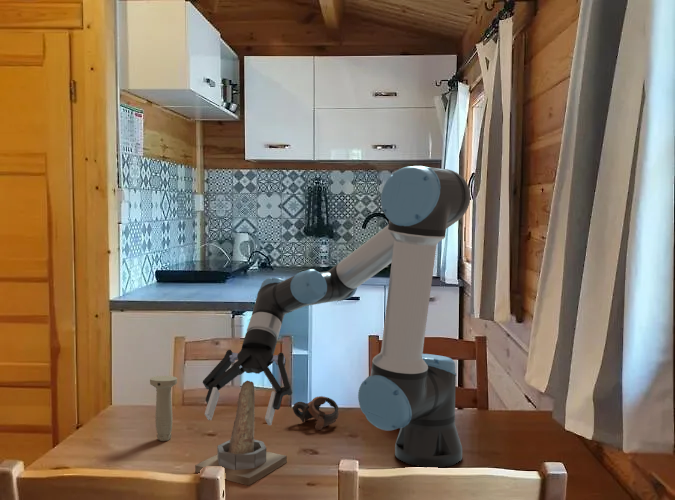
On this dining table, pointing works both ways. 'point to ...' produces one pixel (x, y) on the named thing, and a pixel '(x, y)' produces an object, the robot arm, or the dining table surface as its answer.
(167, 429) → the handle
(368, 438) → the dining table surface
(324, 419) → the dark twisted loops
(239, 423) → the tapered stone pillar
